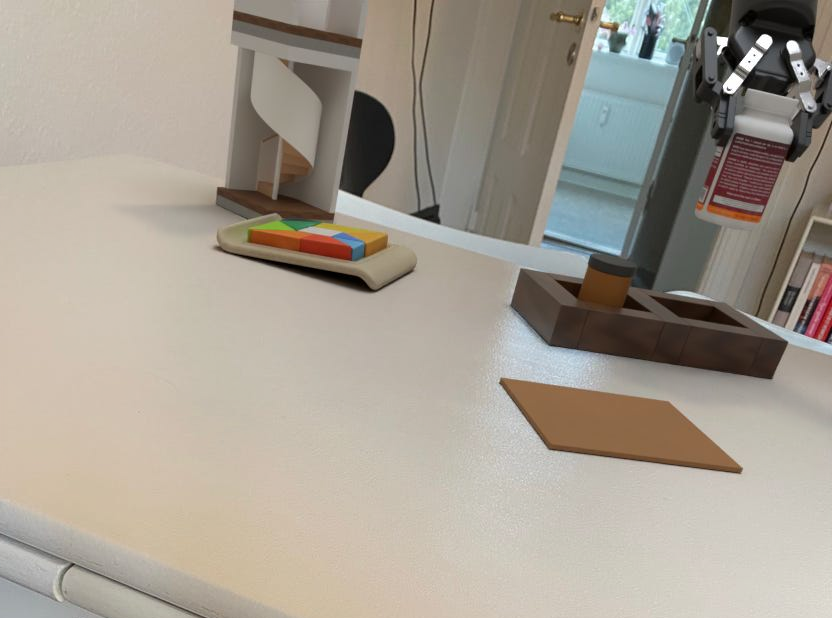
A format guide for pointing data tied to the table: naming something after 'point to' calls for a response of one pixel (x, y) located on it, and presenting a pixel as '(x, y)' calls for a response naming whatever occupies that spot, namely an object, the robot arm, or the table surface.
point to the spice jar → (607, 280)
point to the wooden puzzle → (320, 247)
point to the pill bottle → (748, 162)
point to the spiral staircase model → (291, 105)
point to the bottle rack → (648, 326)
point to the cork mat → (615, 426)
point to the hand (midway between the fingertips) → (759, 147)
